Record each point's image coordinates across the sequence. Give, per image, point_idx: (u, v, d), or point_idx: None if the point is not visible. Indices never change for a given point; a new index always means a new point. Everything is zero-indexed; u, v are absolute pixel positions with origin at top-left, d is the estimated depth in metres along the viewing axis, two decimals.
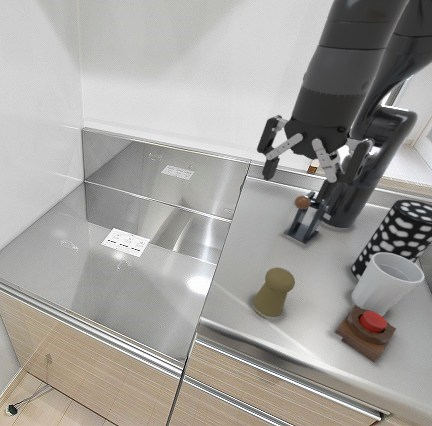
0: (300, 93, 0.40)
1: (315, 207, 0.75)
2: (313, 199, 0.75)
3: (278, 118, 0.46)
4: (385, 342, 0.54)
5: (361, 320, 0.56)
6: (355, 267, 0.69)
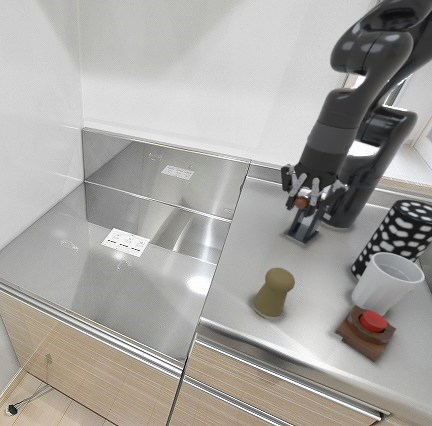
0: (305, 148, 0.61)
1: None
2: None
3: (288, 165, 0.67)
4: (385, 342, 0.54)
5: (361, 320, 0.56)
6: (355, 267, 0.69)
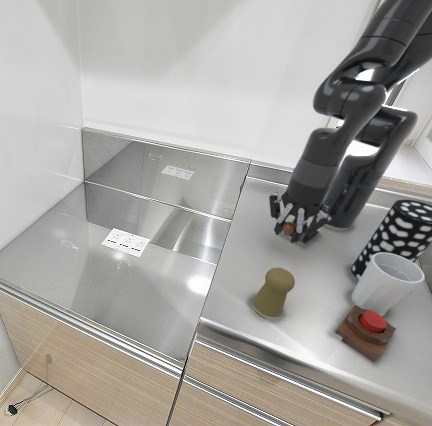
0: (291, 180, 0.65)
1: None
2: None
3: (276, 194, 0.71)
4: (385, 342, 0.54)
5: (361, 320, 0.56)
6: (355, 267, 0.69)
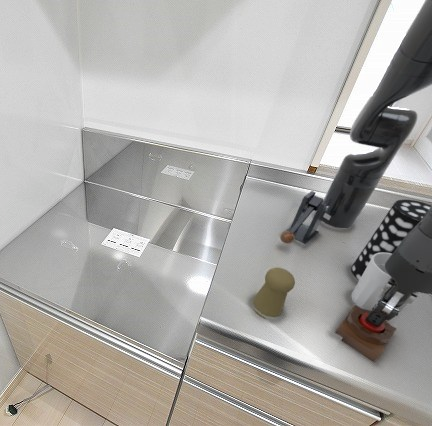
0: None
1: (315, 210, 0.76)
2: (310, 204, 0.76)
3: (390, 306, 0.47)
4: (385, 342, 0.54)
5: None
6: (355, 267, 0.69)
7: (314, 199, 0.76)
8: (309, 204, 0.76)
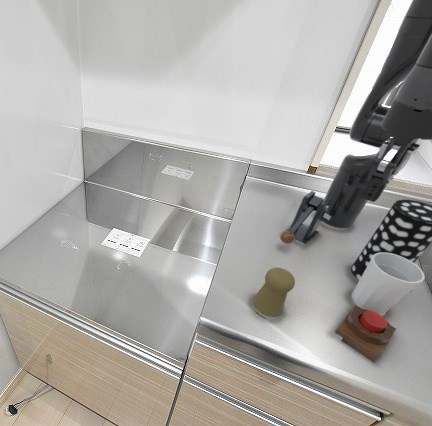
0: None
1: (315, 210, 0.76)
2: (310, 204, 0.76)
3: (386, 160, 0.45)
4: (385, 342, 0.54)
5: (361, 320, 0.56)
6: (355, 267, 0.69)
7: (314, 199, 0.76)
8: (309, 204, 0.76)
